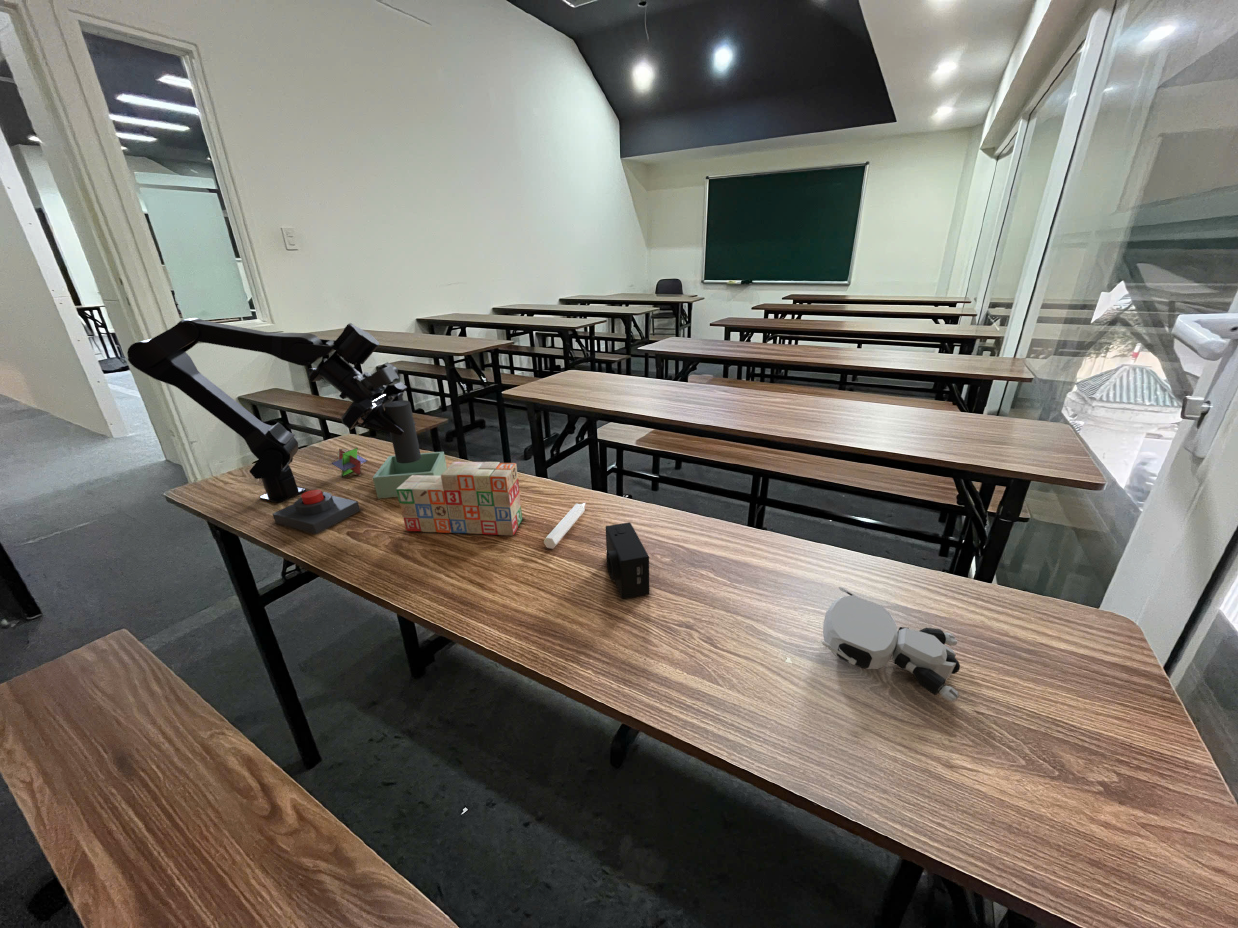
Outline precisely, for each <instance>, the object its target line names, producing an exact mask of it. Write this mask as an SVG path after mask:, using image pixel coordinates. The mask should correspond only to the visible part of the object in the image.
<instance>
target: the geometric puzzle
mask: <svg viewBox="0 0 1238 928" xmlns="http://www.w3.org/2000/svg"><path fill="white" fill-rule="evenodd" d="M358 450H359V448H358V447H354V448H352V449H350V450H349V449H348V448H339V449H338V450H337V453H336V456H337V458H334V459H333V461H331V462H330V464H331V465H332V466H333V467H337V468H338V469H339V470H340V471H341V472H340V473H341V474H340V473H339V474H340V476H341V477H345V476H347V475H348V474H354V475H352V476H355V474H356V476H361V468H362V465H363V464H367V462H368V461H369V460H368V459H367V458H365V456H364V454H362V455H363V457H362V456H361V455H360V452H359V451H358ZM337 459H338V460H337ZM365 466H366V465H364V466H363V468H365ZM353 472H354V473H353Z"/></svg>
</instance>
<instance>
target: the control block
mask: <svg viewBox="0 0 1238 928" xmlns="http://www.w3.org/2000/svg"><path fill="white" fill-rule="evenodd" d="M322 494H323V497H324V500H322V501H320V502H318V503H314V504H308V505H305V504H303V501H302V498H301V497H300V498H298V499H296V500H295V502H294V503H292V504H291V505H288V506H286V507H284V508H281V509H279V510H277V511H275V512H273V513H272V517H273V520H274V523H275V524H278V525H281V526H285V527H287V528H292V529H297V530H299V531H302V532H306V533H310V534H312V535H313V534H314V535H318V534H319V533H322V532H323V531H325V530H327V529H328V528H331V527H333V526H334V525H336V524H338V523H340V522H342V521H344V520H345V519H348V518H349V517H351V516H353V515H355V514H357V513H358V512H360V511H361V507H360V504H359V501H358V500H353V499H348V498H344V497H340V496H336V495H332V493H331V492H326V491H322Z"/></svg>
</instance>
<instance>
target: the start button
mask: <svg viewBox="0 0 1238 928" xmlns="http://www.w3.org/2000/svg"><path fill="white" fill-rule="evenodd" d="M322 492H323V491H322V490H321V489H310V490H308V491H307V490H306V491H305V492H303V493H301V494H300V498H302V501H303V504H305V505H308V504H314V503H318V502H320V501H322V500H324V497H323V494H322Z"/></svg>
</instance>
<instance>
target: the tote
mask: <svg viewBox="0 0 1238 928" xmlns="http://www.w3.org/2000/svg"><path fill="white" fill-rule="evenodd" d="M420 454H421V458H420V459H419V460H417V461H415V462H412V463H398V462H397V461H396V456H395V454H394V455H388V456H387V458H386V460H385V461H384V462H383V463H382V464H381V466H380V467H379V469H378V470H377V471H376V472H375V474H374V475H373V477H372V481H373V484H374V485H373V486H374V489H375V492H376V497H377V499H387V498H389V499H390V498H398V495H397V491H396V489H397V488H398V487H399V486H400V485H401V484H403V483H404V481H406V480H407V479H408V478H409V477H410V476H412V475H425V476H427V475H430V476H441V474H442V473H443V472H444V471H446V469H447V468H448V467H447V462H446V456H445V451H433V452H420Z"/></svg>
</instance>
